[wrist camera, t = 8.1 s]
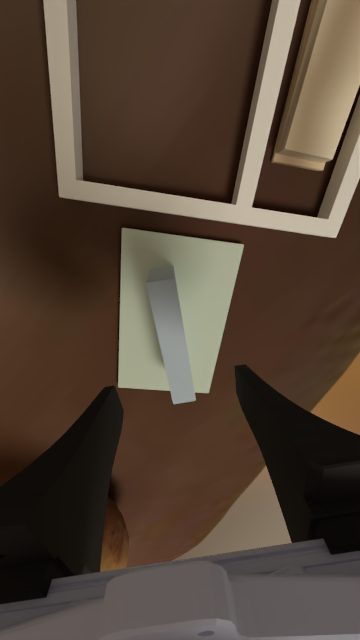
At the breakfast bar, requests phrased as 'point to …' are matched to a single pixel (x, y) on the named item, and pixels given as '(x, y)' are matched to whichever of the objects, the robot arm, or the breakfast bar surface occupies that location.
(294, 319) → the breakfast bar surface
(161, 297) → the grey rectangular block
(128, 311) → the mat
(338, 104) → the offcut upper
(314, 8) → the offcut lower
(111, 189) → the rack
